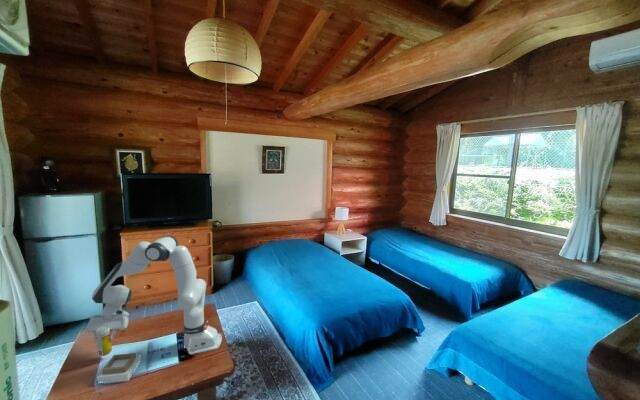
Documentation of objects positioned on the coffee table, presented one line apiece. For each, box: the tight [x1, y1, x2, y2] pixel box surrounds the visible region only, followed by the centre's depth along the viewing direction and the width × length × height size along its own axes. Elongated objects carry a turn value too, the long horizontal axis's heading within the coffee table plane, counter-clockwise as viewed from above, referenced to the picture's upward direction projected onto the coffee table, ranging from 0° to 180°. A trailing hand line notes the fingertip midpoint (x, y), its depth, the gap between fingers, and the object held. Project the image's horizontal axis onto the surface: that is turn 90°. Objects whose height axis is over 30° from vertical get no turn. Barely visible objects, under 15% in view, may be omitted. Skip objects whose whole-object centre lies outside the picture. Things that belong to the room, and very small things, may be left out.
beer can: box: [96, 326, 113, 357], centre depth 153 cm, size 6×6×15 cm
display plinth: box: [96, 352, 142, 384], centre depth 145 cm, size 14×14×6 cm
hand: (102, 339), depth 153 cm, fingers closed on beer can, 6 cm apart
